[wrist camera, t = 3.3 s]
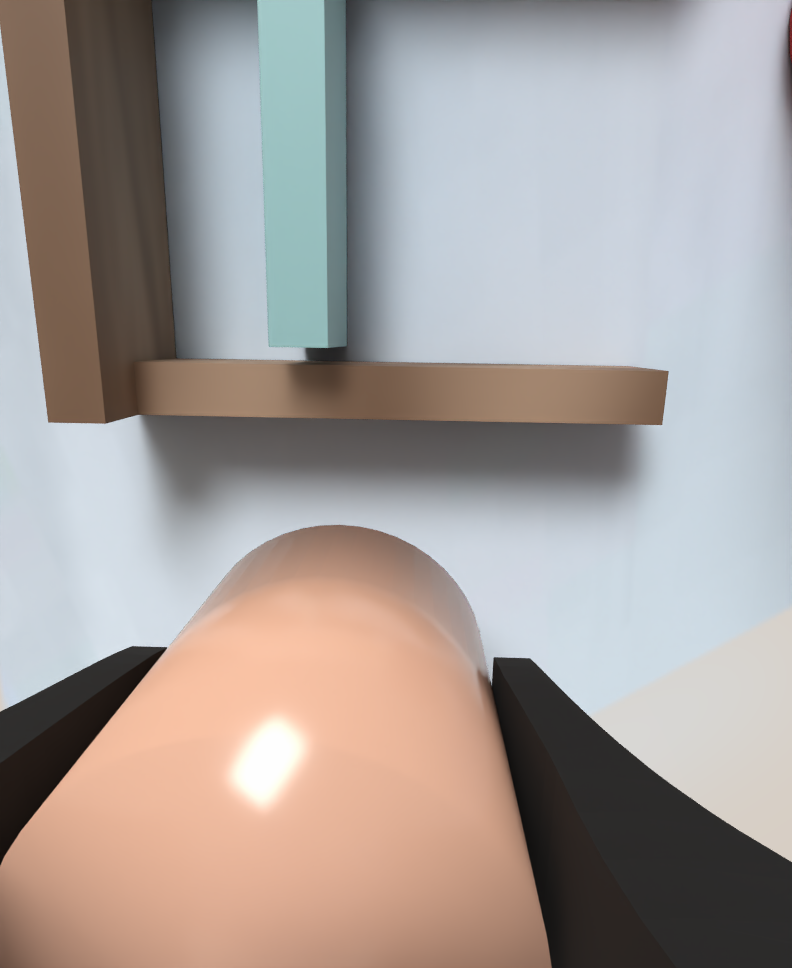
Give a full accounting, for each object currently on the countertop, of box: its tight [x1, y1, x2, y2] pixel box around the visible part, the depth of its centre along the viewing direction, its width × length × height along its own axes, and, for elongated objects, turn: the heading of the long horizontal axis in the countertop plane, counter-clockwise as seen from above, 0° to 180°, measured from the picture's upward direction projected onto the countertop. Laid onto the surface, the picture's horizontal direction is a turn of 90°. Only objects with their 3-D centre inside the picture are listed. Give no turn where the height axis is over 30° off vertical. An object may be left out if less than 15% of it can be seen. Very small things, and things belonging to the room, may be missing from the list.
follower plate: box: [257, 0, 347, 348], centre depth 13 cm, size 1×9×4 cm, turn 179°
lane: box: [0, 0, 669, 425], centre depth 13 cm, size 13×12×4 cm
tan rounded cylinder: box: [0, 525, 552, 968], centre depth 9 cm, size 6×6×6 cm
